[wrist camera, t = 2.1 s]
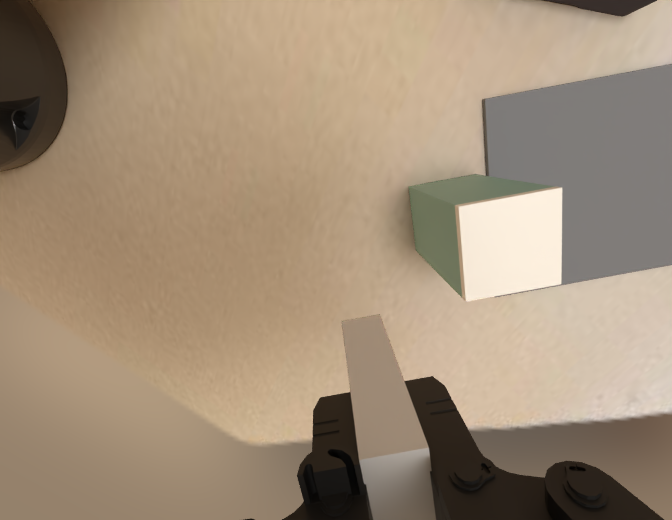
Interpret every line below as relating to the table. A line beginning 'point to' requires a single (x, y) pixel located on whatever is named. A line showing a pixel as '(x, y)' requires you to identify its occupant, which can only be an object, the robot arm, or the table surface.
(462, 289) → the block
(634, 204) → the mat
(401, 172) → the table surface
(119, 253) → the table surface
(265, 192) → the table surface
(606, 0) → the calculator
